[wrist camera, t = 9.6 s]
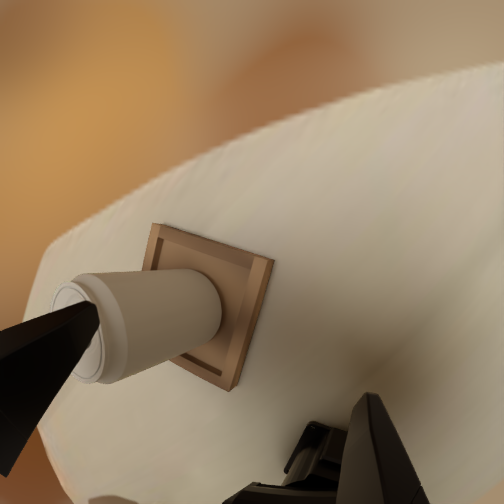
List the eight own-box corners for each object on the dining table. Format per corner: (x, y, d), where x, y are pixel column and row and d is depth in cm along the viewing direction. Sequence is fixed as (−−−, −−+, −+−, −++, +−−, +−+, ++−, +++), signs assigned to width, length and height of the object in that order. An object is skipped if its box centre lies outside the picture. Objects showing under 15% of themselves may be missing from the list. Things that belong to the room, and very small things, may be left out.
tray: (236, 385, 23) (228, 392, 22) (140, 333, 27) (130, 336, 26) (274, 260, 22) (267, 260, 21) (162, 224, 26) (152, 222, 25)
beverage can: (241, 317, 23) (127, 362, 12) (189, 356, 24) (78, 404, 13) (197, 252, 24) (72, 248, 13) (151, 297, 26) (36, 312, 15)
